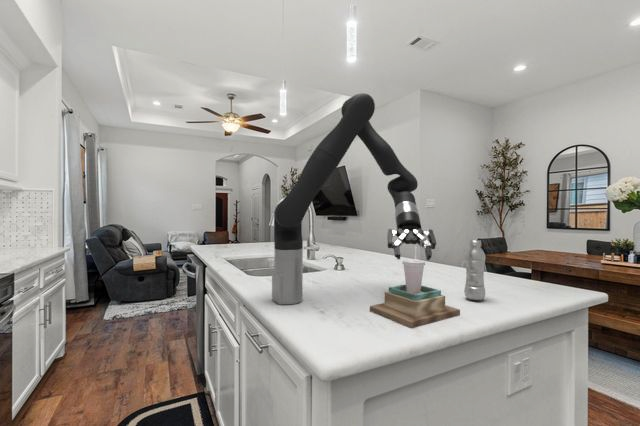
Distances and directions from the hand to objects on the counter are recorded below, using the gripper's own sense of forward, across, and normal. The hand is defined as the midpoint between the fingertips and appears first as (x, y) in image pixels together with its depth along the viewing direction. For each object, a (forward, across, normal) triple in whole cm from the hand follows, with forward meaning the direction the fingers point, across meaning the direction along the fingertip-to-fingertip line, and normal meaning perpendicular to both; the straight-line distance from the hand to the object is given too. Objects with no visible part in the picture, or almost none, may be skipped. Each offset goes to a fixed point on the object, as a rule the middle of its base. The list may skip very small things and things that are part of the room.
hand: (413, 258), depth 95 cm
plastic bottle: (0, +23, +22) cm, 32 cm away
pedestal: (+12, 0, +11) cm, 16 cm away
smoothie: (+8, 0, +7) cm, 11 cm away
